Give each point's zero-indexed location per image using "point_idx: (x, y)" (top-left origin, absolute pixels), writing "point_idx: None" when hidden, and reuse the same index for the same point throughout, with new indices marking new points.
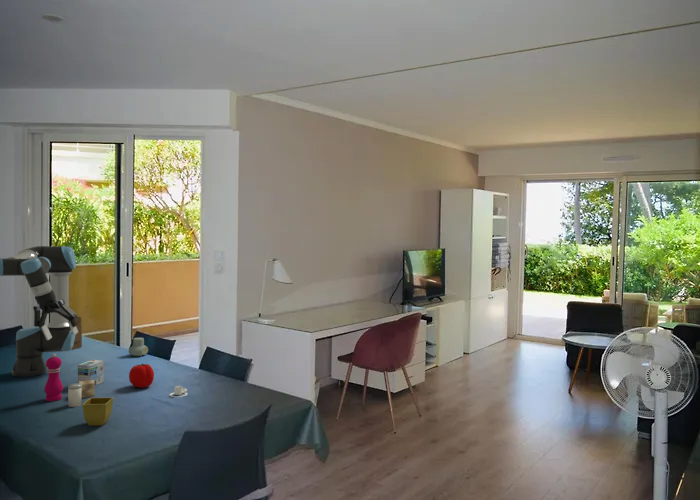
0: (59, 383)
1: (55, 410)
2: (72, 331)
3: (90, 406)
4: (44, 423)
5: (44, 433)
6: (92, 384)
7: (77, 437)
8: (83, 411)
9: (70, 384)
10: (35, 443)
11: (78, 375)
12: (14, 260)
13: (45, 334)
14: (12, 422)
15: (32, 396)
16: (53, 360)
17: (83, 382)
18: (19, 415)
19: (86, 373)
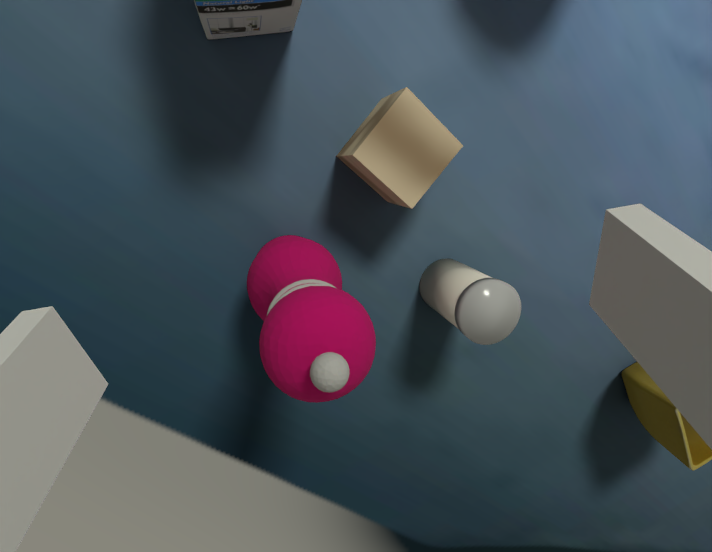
0: (337, 284)
1: (425, 365)
2: (640, 348)
3: (708, 451)
4: (494, 459)
5: (553, 499)
6: (452, 155)
7: (649, 467)
8: (669, 450)
9: (462, 316)
10: (581, 544)
11: (205, 14)
12: None
13: (43, 487)
14: (393, 509)
15: (148, 291)
16: (358, 382)
17: (395, 162)
18: (351, 464)
19: (278, 3)
